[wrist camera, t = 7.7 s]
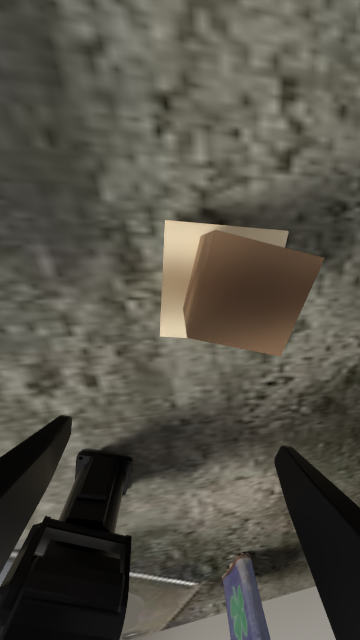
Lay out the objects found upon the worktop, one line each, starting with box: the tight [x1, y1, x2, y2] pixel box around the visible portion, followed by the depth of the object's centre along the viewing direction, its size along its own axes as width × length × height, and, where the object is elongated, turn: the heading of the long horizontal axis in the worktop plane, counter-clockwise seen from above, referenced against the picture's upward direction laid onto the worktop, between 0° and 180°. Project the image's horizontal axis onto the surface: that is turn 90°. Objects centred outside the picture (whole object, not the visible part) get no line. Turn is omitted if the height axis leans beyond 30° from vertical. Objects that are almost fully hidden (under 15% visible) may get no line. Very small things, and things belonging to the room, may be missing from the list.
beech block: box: [160, 220, 289, 338], centre depth 16 cm, size 8×8×4 cm
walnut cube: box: [183, 230, 324, 356], centre depth 12 cm, size 5×5×5 cm
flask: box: [222, 552, 270, 640], centre depth 29 cm, size 9×3×11 cm, turn 164°
